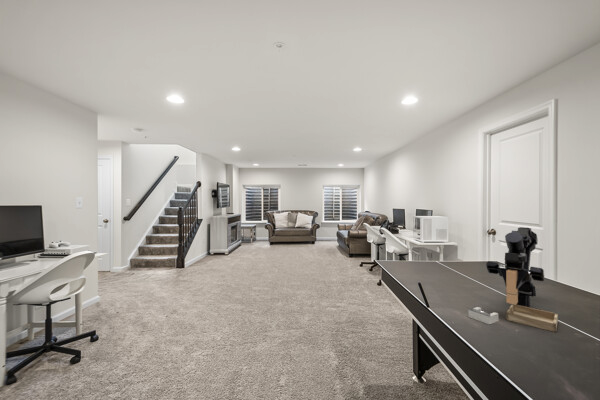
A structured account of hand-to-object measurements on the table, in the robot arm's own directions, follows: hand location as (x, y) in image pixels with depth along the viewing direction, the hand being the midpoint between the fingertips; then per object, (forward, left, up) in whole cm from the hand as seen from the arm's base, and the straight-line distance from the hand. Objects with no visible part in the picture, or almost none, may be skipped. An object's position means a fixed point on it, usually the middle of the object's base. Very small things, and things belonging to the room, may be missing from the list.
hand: (511, 287), depth 108 cm
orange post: (-1, 0, -6) cm, 6 cm away
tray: (-8, +5, -14) cm, 18 cm away
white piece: (+5, -9, -14) cm, 17 cm away
